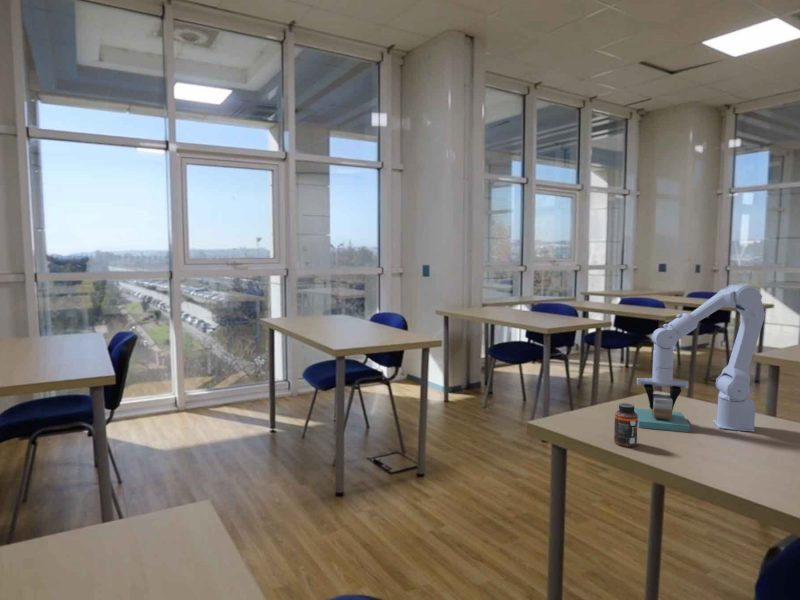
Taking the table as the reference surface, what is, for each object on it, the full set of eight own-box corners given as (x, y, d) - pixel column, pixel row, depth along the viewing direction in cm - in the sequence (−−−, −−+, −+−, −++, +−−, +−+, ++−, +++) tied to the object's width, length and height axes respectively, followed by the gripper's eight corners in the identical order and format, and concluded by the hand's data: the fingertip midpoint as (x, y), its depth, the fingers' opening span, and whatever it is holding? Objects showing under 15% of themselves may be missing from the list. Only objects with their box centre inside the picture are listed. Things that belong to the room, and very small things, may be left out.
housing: (671, 419, 160) (672, 400, 159) (653, 417, 162) (654, 399, 161) (667, 411, 167) (668, 393, 167) (650, 410, 169) (651, 392, 168)
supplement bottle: (639, 448, 144) (640, 408, 143) (616, 447, 145) (617, 407, 144) (634, 440, 150) (635, 402, 148) (612, 439, 151) (613, 401, 150)
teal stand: (681, 418, 169) (681, 412, 169) (689, 432, 156) (689, 425, 156) (634, 414, 174) (634, 408, 174) (638, 427, 161) (638, 421, 160)
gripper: (686, 365, 165) (684, 407, 166) (636, 362, 169) (634, 403, 171) (690, 370, 158) (688, 413, 159) (638, 367, 163) (637, 409, 164)
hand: (661, 408), depth 164 cm, fingers closed on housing, 5 cm apart
